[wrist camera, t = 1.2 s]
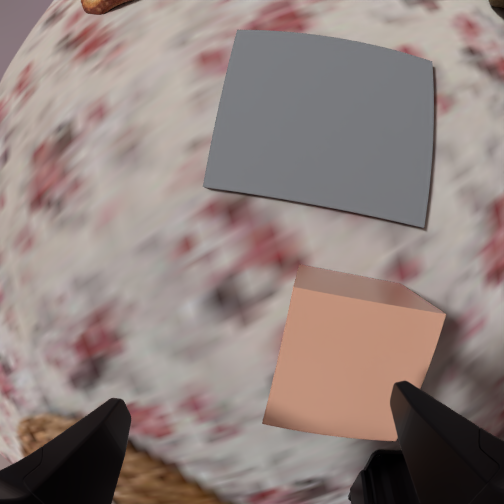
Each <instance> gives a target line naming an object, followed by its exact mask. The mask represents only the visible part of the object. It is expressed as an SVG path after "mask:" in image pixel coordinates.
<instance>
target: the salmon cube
mask: <svg viewBox="0 0 504 504" xmlns="http://www.w3.org/2000/svg"><path fill="white" fill-rule="evenodd" d="M445 316H446V314H445V313H444V312H442V311H441V310H439V309H438V308H436V307H435V306H433V305H432V304H430V303H429V302H427V301H426V300H424V299H423V298H421V297H420V296H418V295H417V294H415V293H414V292H412V291H411V290H409V289H408V288H406V287H405V286H403V285H402V284H400V283H395V282H389V281H384V280H379V279H374V278H368V277H363V276H358V275H353V274H347V273H342V272H337V271H332V270H327V269H321V268H316V267H311V266H306V265H301V264H299V267H298V271H297V275H296V279H295V283H294V287H293V291H292V296H291V301H290V306H289V311H288V316H287V320H286V325H285V330H284V334H283V339H282V343H281V348H280V352H279V356H278V361H277V365H276V369H275V374H274V378H273V382H272V386H271V390H270V394H269V398H268V403H267V407H266V410H265V414H264V418H263V422H262V424H266V425H271V426H275V427H280V428H286V429H291V430H297V431H303V432H309V433H315V434H322V435H330V436H338V437H346V438H356V439H368V440H383V441H396V440H397V438H398V436H397V432H396V428H395V423H394V419H393V415H392V411H391V407H390V398H391V393H392V389H393V385H394V383H396V382H399V381H404V380H406V381H408V382H410V383H411V384H413V385H414V386H416V387H417V388H419V389H420V388H421V386H422V383H423V381H424V378H425V376H426V373H427V370H428V368H429V365H430V362H431V360H432V357H433V354H434V351H435V348H436V345H437V342H438V339H439V336H440V333H441V330H442V326H443V323H444V320H445Z"/></svg>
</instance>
